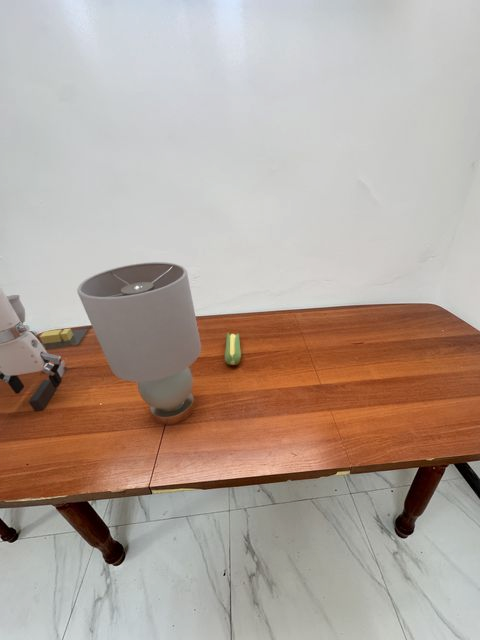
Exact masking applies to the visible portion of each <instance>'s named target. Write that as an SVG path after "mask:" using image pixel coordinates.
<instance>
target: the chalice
mask: <svg viewBox="0 0 480 640" xmlns="http://www.w3.org/2000/svg"><path fill="white" fill-rule="evenodd" d="M6 297H7V299H8V300H9V302H10V304H11V306H12V307H13V309H14V311H15V313H16V314H17V316H18V318H19V319H20V321H21V322H22V324H23V325H24V323H25V322H26V309H25V307H24V305H23V303H22V301H21V299H20V295H19V294H10V295H6Z"/></svg>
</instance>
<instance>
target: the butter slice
mask: <svg viewBox="0 0 480 640" xmlns="http://www.w3.org/2000/svg"><path fill="white" fill-rule="evenodd" d="M62 331H63V332H62V333H61V336H62V338H63V340H64V341H69V340H70V339H71V338H72V336H73V333H72V331H73V330H72V329H71V327H69V328H64V329H62Z"/></svg>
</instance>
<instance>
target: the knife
mask: <svg viewBox="0 0 480 640" xmlns="http://www.w3.org/2000/svg"><path fill="white" fill-rule="evenodd" d="M65 365H66V362H65V360H61V365H60V367H59V368H58V370H57V371H58V373H59V375H60V377H61V378H62V377H63V375H64V373H65V372H66V370H67V369H68V366H65ZM57 389H58V387H57V388H55V387H54V386H53V384H52V383H51V381H50V379H44V380H42V382H40V385H39V386H38V387H37V388H36V390H35V392H34V393H33V394H32V396H31V397H30V399H29V400H28V403H29V405H30V406H31V408H32V409H33V411H34V412H39V411H40V412H41V411H44V410H45V409H46V408H47V405H48V404H49V403H50V401H51V400H52V398H53V395H55V392H56V391H57Z"/></svg>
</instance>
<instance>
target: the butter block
mask: <svg viewBox="0 0 480 640" xmlns="http://www.w3.org/2000/svg"><path fill="white" fill-rule="evenodd" d="M62 332H63V329H62V328H61V329H53V330H45V331H43V332H42V333H41V334H40V335H39V338H40V341H41V343H42V342H43V344H46V343H54V342H61V341H62V339H63V338H62V336H61V333H62Z"/></svg>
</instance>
